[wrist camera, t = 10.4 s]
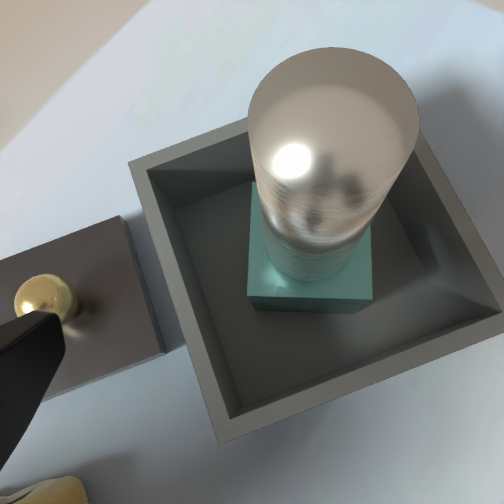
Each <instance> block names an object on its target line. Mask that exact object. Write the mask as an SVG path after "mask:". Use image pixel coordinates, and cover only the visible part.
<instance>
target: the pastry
mask: <svg viewBox="0 0 504 504" xmlns="http://www.w3.org/2000/svg"><path fill="white" fill-rule="evenodd" d="M0 504H89V501H88V499H87V493H86V490H85V488H84V486H83V483H82V481H81V480H80V479H78V478H76V477H75V476H71V475H68V476H64V477H60V478H52V479H47V480H44V481H41V482H38V483H36V484H34V485H32V486H30V487H27V488H24V489H22V490H20V491H18V492H16V493H14V494H13V495H11V496H0Z"/></svg>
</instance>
